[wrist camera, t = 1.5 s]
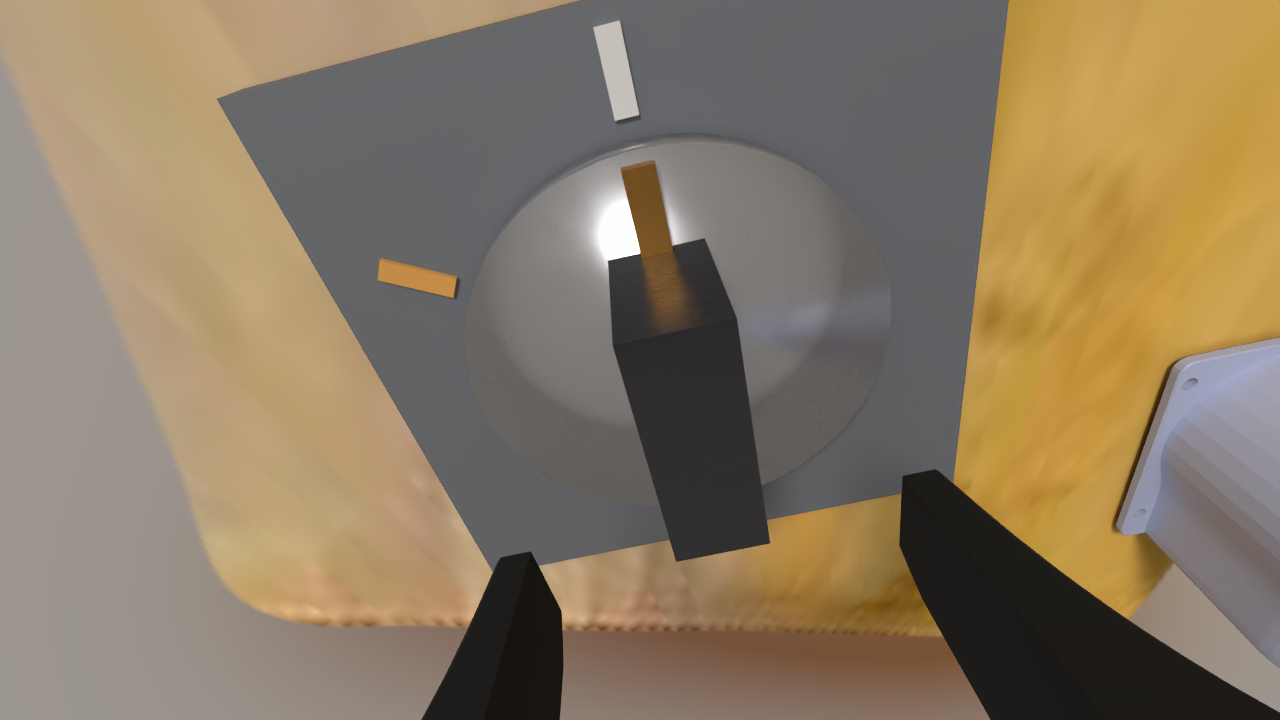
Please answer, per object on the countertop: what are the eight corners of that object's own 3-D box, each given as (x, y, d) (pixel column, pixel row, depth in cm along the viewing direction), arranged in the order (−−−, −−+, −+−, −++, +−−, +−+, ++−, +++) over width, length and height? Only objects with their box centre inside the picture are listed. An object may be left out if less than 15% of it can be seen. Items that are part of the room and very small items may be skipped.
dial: (875, 445, 21) (946, 566, 17) (544, 513, 22) (532, 645, 17) (879, 78, 14) (998, 129, 10) (397, 197, 15) (322, 289, 11)
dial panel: (937, 460, 23) (955, 485, 22) (498, 549, 25) (493, 577, 23) (989, -107, 13) (1026, -114, 12) (242, 88, 15) (212, 100, 13)
